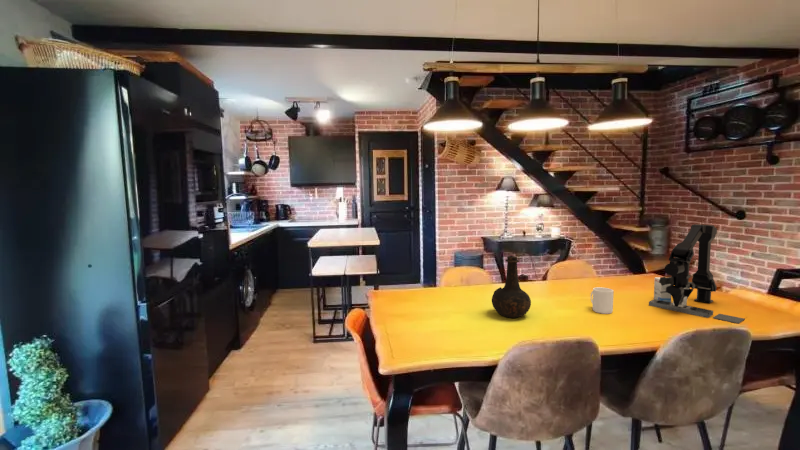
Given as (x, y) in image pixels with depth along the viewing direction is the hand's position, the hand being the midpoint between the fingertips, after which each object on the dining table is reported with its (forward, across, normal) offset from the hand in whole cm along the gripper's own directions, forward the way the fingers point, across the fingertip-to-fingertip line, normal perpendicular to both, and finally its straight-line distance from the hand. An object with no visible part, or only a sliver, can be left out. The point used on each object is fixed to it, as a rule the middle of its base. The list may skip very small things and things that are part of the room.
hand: (679, 304), depth 184 cm
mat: (+2, -2, +18) cm, 18 cm away
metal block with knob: (+3, 0, 0) cm, 3 cm away
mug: (+3, +30, -23) cm, 38 cm away
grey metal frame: (+2, 0, 0) cm, 2 cm away
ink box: (+3, -10, -11) cm, 15 cm away
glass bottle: (+3, +69, -45) cm, 82 cm away
